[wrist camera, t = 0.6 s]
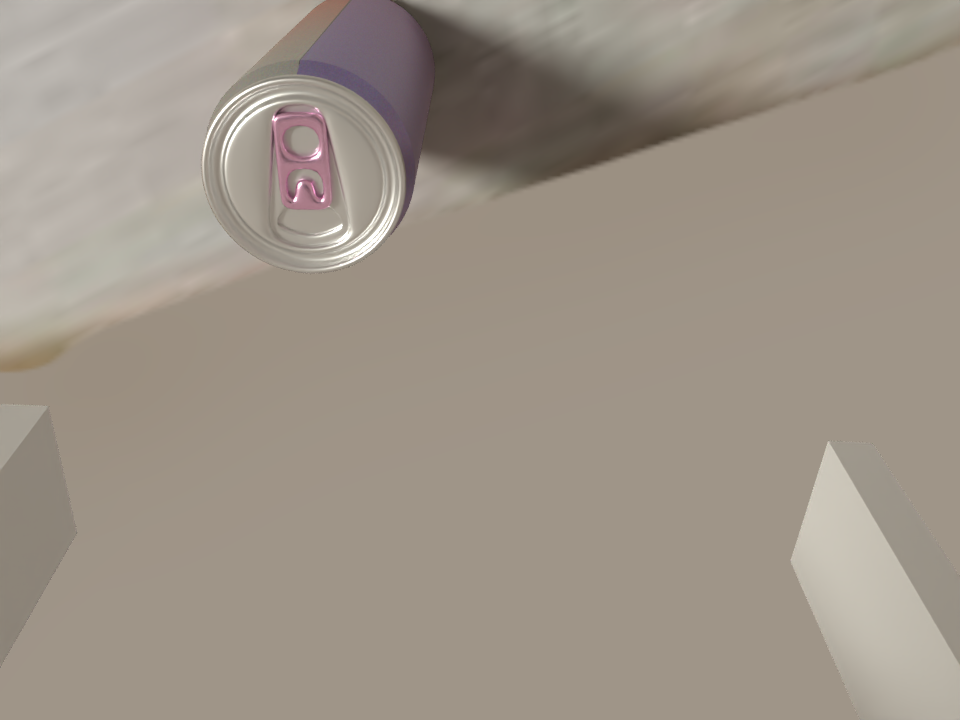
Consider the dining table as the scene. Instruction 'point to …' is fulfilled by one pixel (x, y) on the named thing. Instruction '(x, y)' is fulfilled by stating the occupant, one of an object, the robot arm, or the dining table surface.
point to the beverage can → (323, 138)
